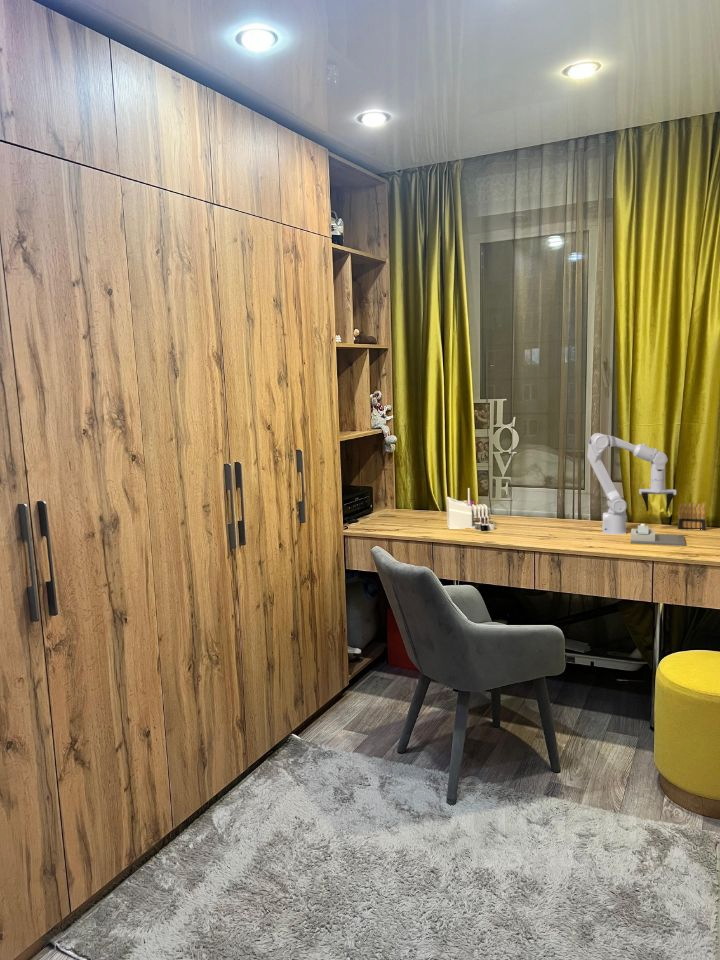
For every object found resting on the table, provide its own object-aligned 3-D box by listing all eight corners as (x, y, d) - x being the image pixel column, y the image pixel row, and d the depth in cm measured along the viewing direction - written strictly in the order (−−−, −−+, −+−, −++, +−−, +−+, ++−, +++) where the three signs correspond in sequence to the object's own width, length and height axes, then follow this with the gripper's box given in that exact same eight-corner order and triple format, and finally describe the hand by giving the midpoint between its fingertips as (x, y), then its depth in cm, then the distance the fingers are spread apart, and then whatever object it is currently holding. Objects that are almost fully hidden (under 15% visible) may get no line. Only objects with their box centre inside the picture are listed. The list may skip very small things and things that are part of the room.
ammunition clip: (678, 530, 298) (678, 502, 296) (677, 529, 300) (678, 502, 298) (705, 531, 294) (706, 503, 292) (705, 530, 296) (706, 502, 294)
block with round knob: (637, 540, 278) (637, 527, 277) (637, 534, 288) (637, 522, 287) (648, 540, 277) (648, 527, 276) (648, 535, 286) (648, 522, 285)
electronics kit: (503, 532, 308) (502, 497, 306) (445, 534, 309) (445, 499, 306) (486, 513, 353) (486, 483, 350) (436, 515, 353) (435, 485, 351)
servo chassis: (630, 544, 277) (630, 535, 276) (631, 535, 291) (631, 527, 291) (685, 546, 269) (685, 538, 269) (683, 537, 284) (683, 529, 283)
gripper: (639, 480, 291) (638, 512, 293) (676, 481, 285) (676, 513, 287) (639, 478, 297) (638, 509, 299) (676, 478, 292) (675, 510, 294)
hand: (657, 510), depth 294 cm, fingers open, 7 cm apart
